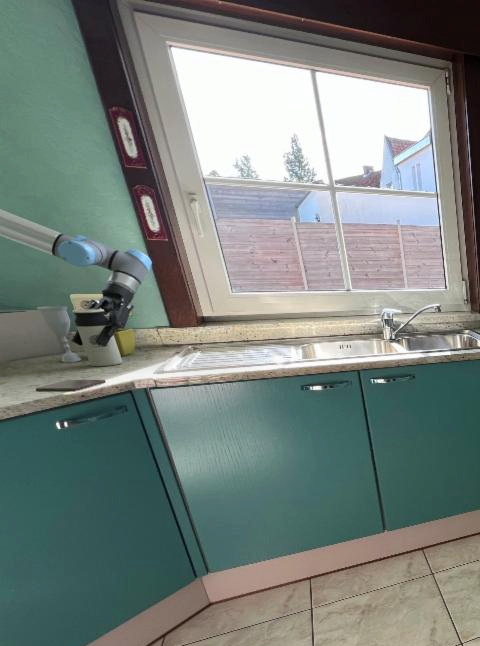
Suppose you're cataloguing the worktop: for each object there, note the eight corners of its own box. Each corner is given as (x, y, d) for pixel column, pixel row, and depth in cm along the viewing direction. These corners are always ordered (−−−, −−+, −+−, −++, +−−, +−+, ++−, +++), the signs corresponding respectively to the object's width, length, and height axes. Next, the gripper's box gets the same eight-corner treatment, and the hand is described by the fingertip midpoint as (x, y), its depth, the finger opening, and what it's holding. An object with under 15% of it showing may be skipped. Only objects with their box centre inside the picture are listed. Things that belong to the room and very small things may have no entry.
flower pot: (97, 357, 176) (88, 332, 173) (114, 353, 184) (106, 328, 181) (126, 357, 178) (117, 332, 175) (141, 352, 186) (133, 328, 183)
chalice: (52, 363, 167) (31, 308, 160) (63, 359, 173) (42, 306, 166) (80, 361, 170) (61, 308, 163) (90, 358, 175) (71, 306, 169)
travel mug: (96, 362, 169) (77, 308, 162) (126, 361, 172) (108, 308, 165) (86, 367, 162) (66, 311, 155) (118, 365, 166) (99, 311, 159)
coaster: (36, 391, 136) (35, 388, 135) (69, 382, 145) (68, 379, 145) (75, 391, 137) (74, 388, 136) (105, 382, 146) (104, 379, 145)
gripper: (157, 297, 173) (128, 351, 164) (103, 295, 174) (71, 349, 165) (138, 282, 166) (106, 337, 157) (82, 280, 167) (47, 335, 158)
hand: (88, 343), depth 161 cm, fingers closed on travel mug, 8 cm apart
